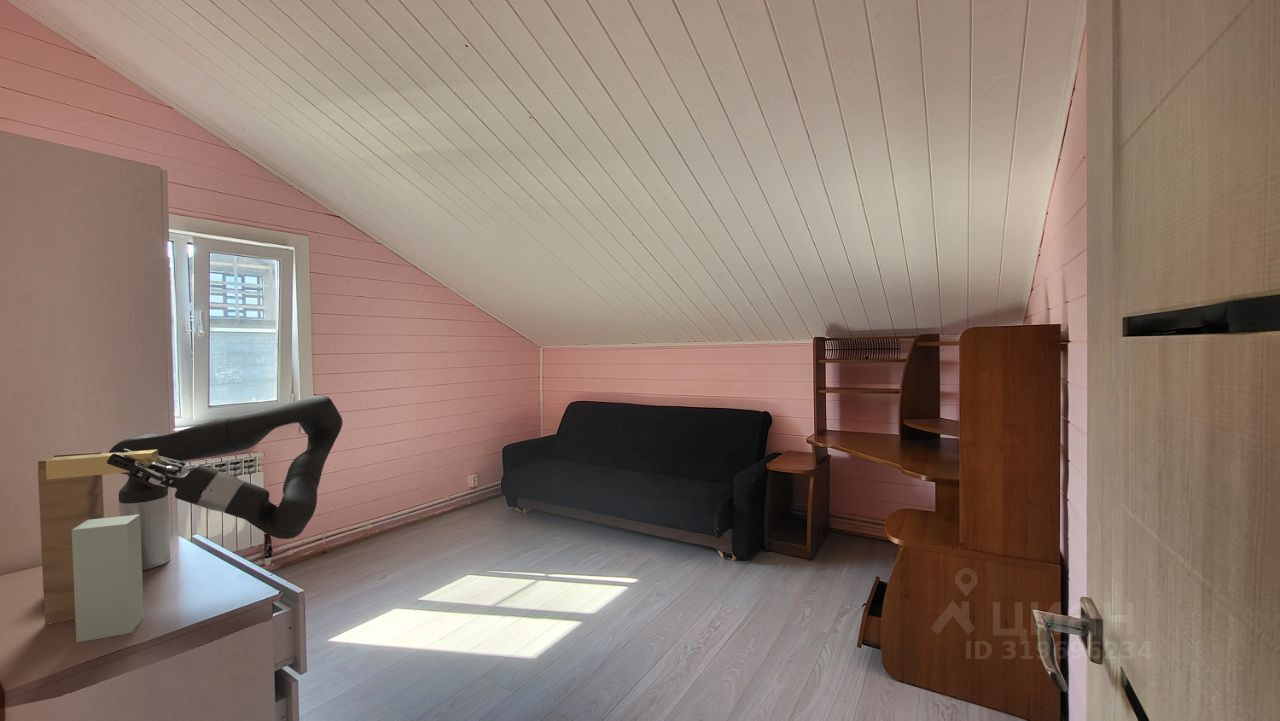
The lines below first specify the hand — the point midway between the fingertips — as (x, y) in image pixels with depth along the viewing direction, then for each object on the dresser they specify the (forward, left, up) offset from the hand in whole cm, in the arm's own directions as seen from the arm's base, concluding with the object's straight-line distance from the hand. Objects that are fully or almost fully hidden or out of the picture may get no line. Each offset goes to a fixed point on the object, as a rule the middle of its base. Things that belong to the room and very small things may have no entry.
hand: (115, 455), depth 105 cm
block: (0, -2, -35) cm, 35 cm away
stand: (-12, -11, -35) cm, 39 cm away
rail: (0, -2, -3) cm, 4 cm away
